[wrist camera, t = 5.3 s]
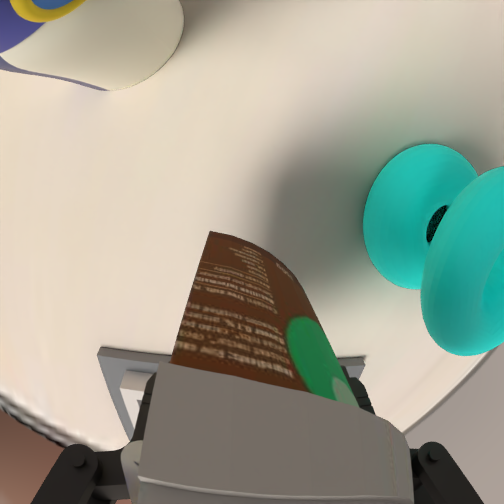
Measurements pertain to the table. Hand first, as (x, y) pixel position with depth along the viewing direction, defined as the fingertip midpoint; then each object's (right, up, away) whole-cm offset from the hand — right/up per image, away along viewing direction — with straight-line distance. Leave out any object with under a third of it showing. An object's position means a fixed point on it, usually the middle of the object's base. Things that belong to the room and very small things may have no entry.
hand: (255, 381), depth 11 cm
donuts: (+11, +8, +8) cm, 16 cm away
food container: (+1, +1, +3) cm, 3 cm away
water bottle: (-8, +18, +2) cm, 20 cm away
